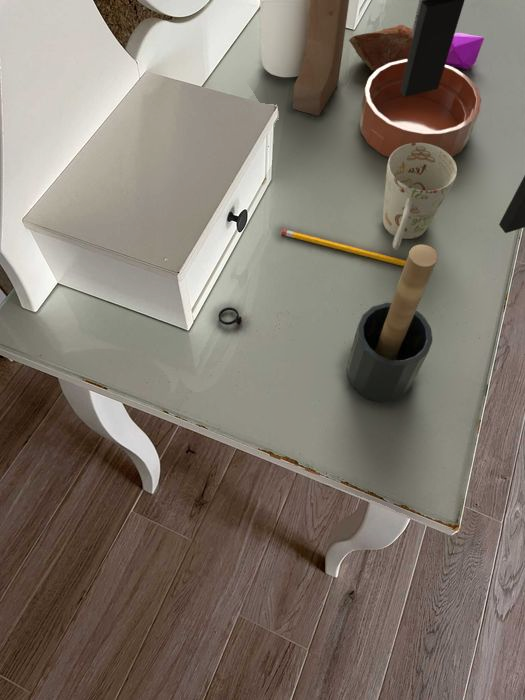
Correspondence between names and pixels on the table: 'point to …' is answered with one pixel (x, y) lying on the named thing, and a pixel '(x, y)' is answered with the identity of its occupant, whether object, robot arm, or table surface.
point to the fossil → (383, 46)
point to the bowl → (418, 111)
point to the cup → (284, 35)
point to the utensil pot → (381, 373)
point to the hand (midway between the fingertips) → (465, 151)
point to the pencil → (344, 247)
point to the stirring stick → (406, 299)
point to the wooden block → (321, 55)
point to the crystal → (464, 50)
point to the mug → (415, 188)
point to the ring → (237, 320)
